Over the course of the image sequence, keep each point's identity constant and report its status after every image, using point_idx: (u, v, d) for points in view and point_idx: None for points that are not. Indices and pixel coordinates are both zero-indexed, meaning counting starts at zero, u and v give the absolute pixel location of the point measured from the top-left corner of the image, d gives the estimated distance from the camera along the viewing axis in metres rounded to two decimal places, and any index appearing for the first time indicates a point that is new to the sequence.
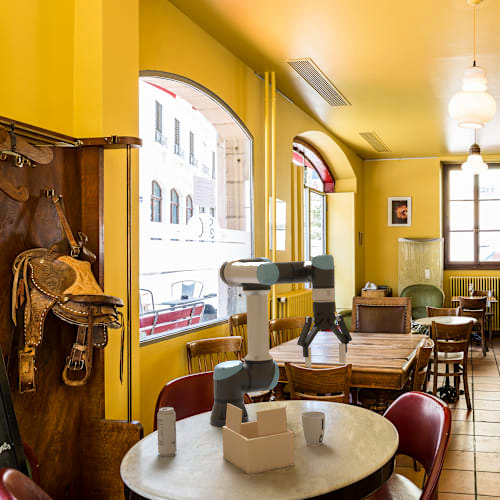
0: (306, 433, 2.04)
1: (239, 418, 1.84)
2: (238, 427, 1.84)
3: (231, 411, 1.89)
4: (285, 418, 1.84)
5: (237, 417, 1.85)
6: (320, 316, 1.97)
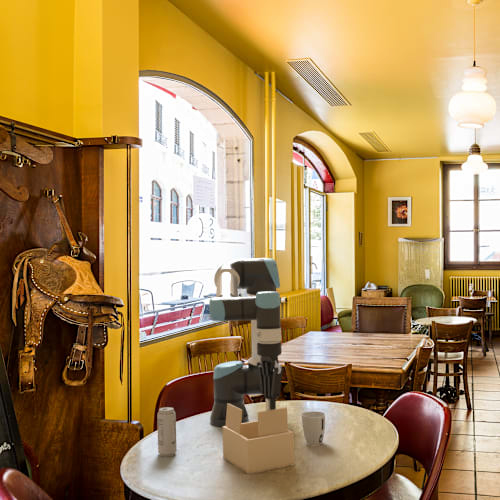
0: (306, 433, 2.04)
1: (239, 418, 1.84)
2: (238, 427, 1.84)
3: (231, 411, 1.89)
4: (286, 418, 1.84)
5: (237, 417, 1.85)
6: (261, 356, 1.85)
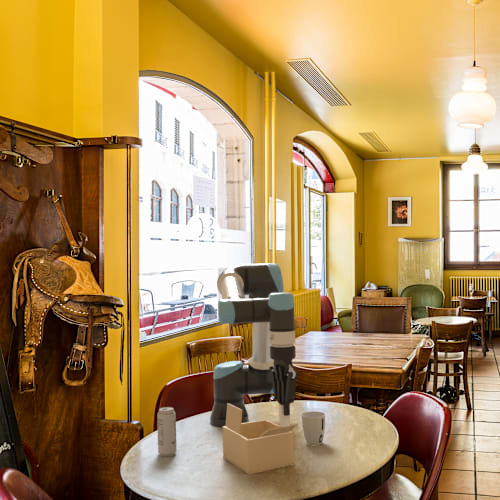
0: (306, 433, 2.04)
1: (239, 418, 1.84)
2: (238, 427, 1.84)
3: (231, 411, 1.89)
4: (292, 428, 1.81)
5: (237, 417, 1.85)
6: (274, 359, 1.78)
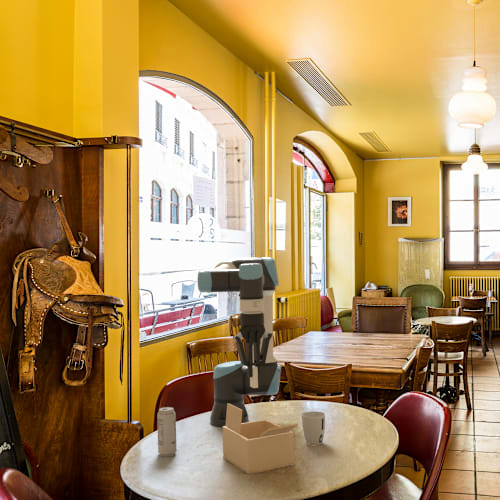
0: (306, 433, 2.04)
1: (239, 418, 1.84)
2: (238, 427, 1.84)
3: (231, 411, 1.89)
4: (292, 428, 1.81)
5: (237, 417, 1.85)
6: (245, 328, 1.87)
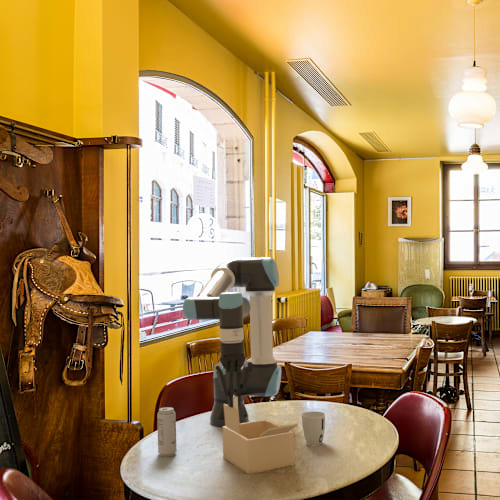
0: (306, 433, 2.04)
1: (237, 418, 1.83)
2: (237, 427, 1.84)
3: (228, 411, 1.89)
4: (292, 428, 1.81)
5: (235, 417, 1.85)
6: (225, 357, 1.86)
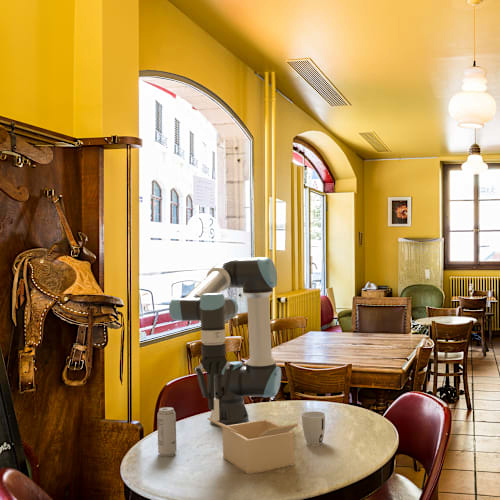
0: (306, 433, 2.04)
1: (226, 428, 1.82)
2: (233, 431, 1.83)
3: None
4: (292, 428, 1.81)
5: (224, 427, 1.83)
6: (206, 359, 1.83)
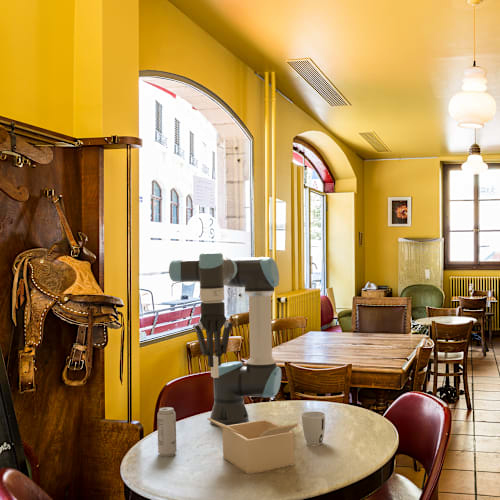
0: (306, 433, 2.04)
1: None
2: (233, 431, 1.83)
3: (216, 423, 1.87)
4: (292, 428, 1.81)
5: None
6: (205, 317, 1.85)
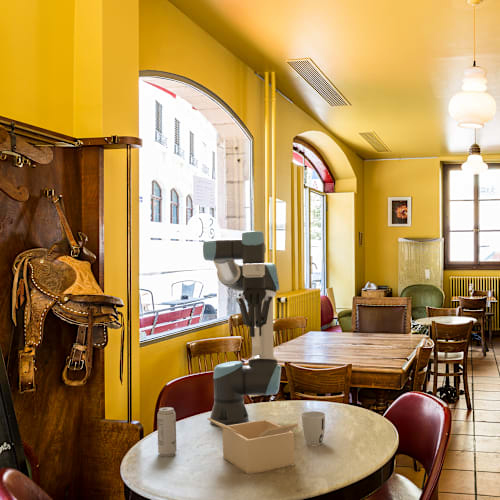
0: (306, 433, 2.04)
1: None
2: (233, 431, 1.83)
3: (216, 423, 1.87)
4: (292, 428, 1.81)
5: None
6: (247, 290, 2.00)
